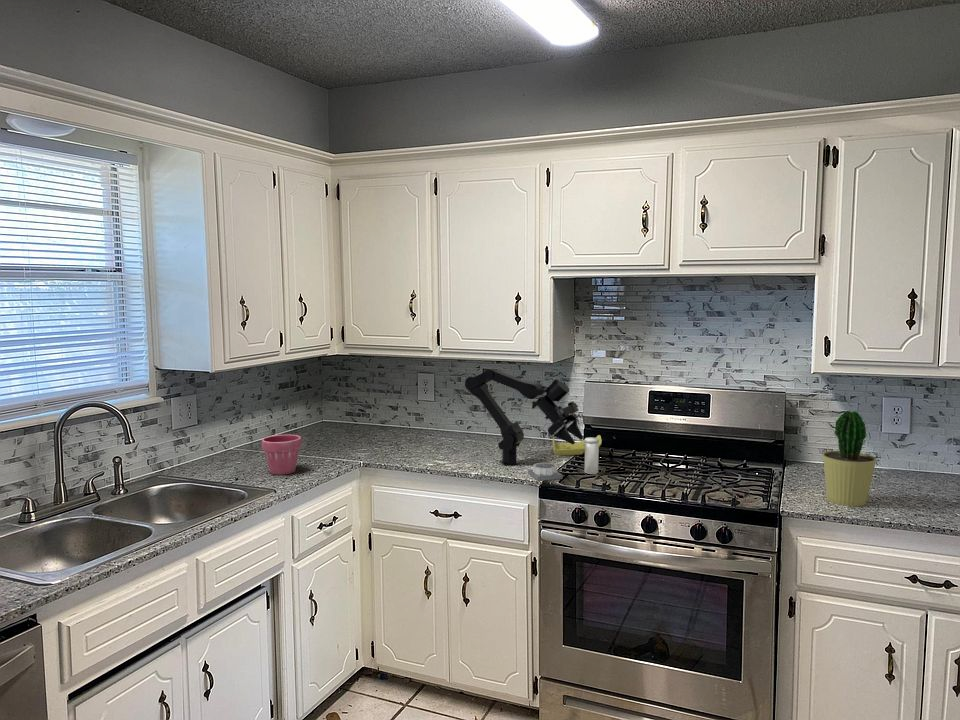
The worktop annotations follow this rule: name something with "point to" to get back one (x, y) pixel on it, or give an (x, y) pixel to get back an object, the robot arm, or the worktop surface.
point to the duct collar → (544, 472)
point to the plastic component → (571, 447)
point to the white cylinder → (591, 455)
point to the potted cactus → (848, 463)
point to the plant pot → (281, 452)
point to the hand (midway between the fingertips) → (578, 441)
